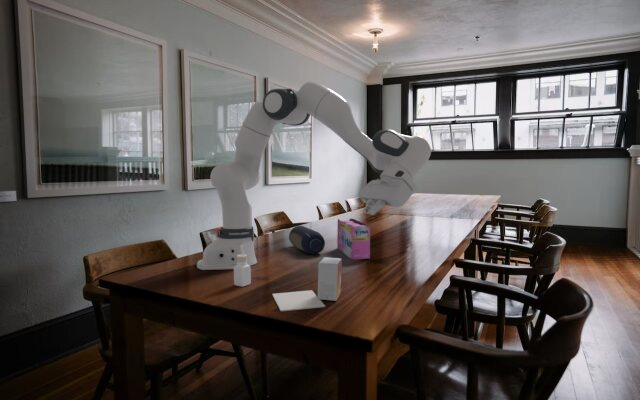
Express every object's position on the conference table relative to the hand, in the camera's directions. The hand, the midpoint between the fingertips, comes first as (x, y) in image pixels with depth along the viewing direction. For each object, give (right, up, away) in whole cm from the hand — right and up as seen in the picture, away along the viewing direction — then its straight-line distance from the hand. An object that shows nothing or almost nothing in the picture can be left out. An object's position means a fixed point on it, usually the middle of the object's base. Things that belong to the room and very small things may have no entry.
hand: (367, 213), depth 121 cm
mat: (-21, -24, -8) cm, 33 cm away
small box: (-12, -24, -5) cm, 27 cm away
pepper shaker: (-39, -23, +7) cm, 46 cm away
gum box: (0, -19, +52) cm, 55 cm away
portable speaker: (-21, -19, +58) cm, 65 cm away
